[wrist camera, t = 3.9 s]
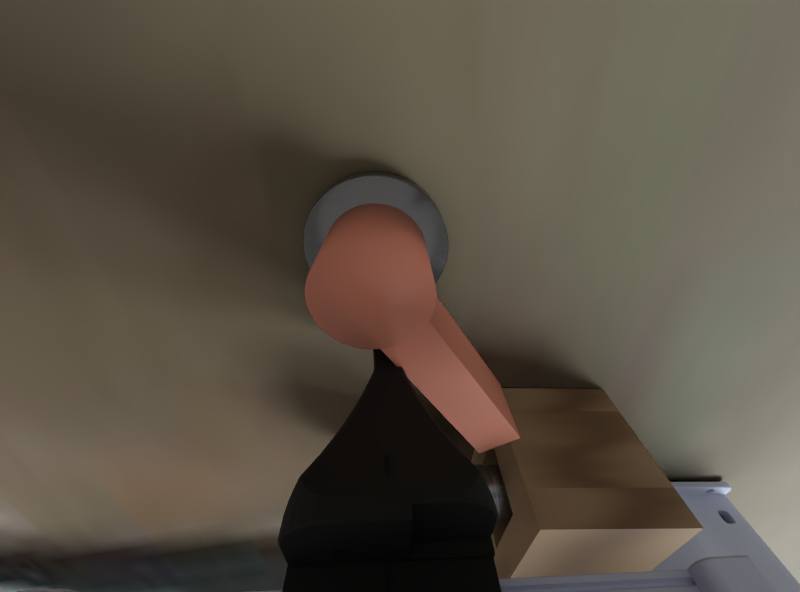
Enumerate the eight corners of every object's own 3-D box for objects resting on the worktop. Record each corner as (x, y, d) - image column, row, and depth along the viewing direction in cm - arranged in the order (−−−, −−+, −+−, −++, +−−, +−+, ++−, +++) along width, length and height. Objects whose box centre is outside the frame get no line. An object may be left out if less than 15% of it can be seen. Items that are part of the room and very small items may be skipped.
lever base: (453, 174, 11) (457, 179, 10) (437, 301, 13) (440, 311, 13) (299, 168, 10) (293, 173, 10) (316, 298, 13) (312, 309, 13)
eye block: (602, 388, 17) (703, 528, 11) (557, 470, 21) (614, 600, 16) (491, 387, 16) (540, 529, 11) (468, 470, 21) (495, 602, 15)
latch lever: (388, 181, 10) (387, 209, 7) (516, 373, 14) (543, 432, 12) (303, 241, 11) (275, 285, 8) (449, 403, 16) (460, 462, 13)
